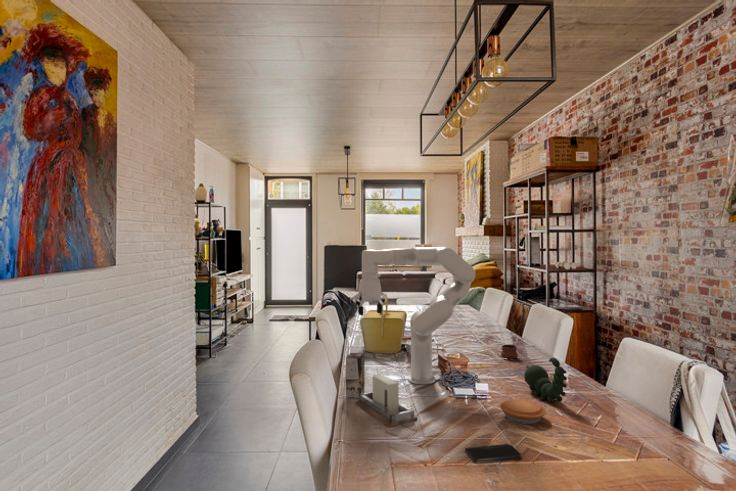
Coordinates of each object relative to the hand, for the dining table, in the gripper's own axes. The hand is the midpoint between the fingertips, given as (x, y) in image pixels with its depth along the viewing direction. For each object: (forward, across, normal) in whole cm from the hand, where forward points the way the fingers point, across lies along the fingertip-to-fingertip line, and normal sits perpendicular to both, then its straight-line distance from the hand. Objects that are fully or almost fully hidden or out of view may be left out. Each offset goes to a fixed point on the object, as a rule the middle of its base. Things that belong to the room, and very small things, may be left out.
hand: (370, 314), depth 192 cm
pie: (+31, -27, +63) cm, 75 cm away
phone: (+31, +2, +77) cm, 83 cm away
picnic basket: (+31, -37, -48) cm, 68 cm away
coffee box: (+31, +14, +12) cm, 36 cm away
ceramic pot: (+31, -84, +6) cm, 89 cm away
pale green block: (+29, +13, +34) cm, 47 cm away
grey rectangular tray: (+30, +13, +34) cm, 47 cm away
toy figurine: (+31, -51, +53) cm, 80 cm away
